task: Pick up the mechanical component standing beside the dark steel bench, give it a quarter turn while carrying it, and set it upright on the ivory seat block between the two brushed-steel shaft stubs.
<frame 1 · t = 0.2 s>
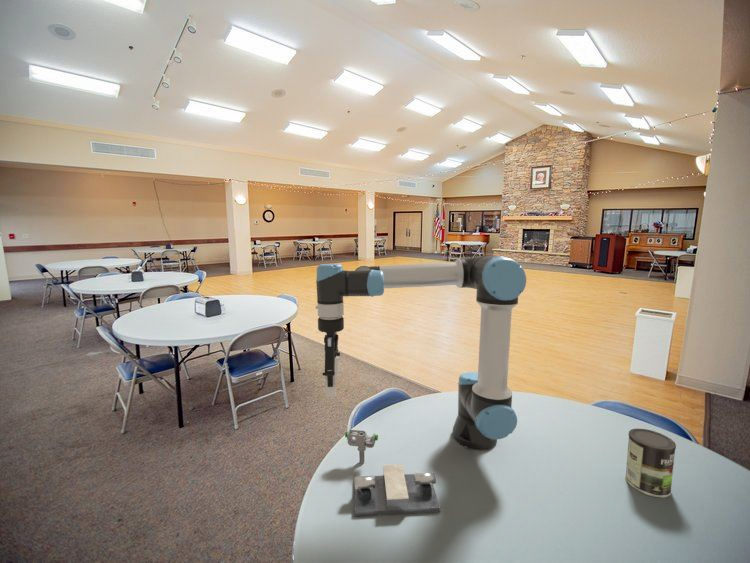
hand: (332, 386, 102), 27 cm above the table, fingers open, 13 cm apart
coffee can: (647, 485, 97), on the table
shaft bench: (395, 495, 94), on the table
mechanical component: (361, 463, 108), on the table
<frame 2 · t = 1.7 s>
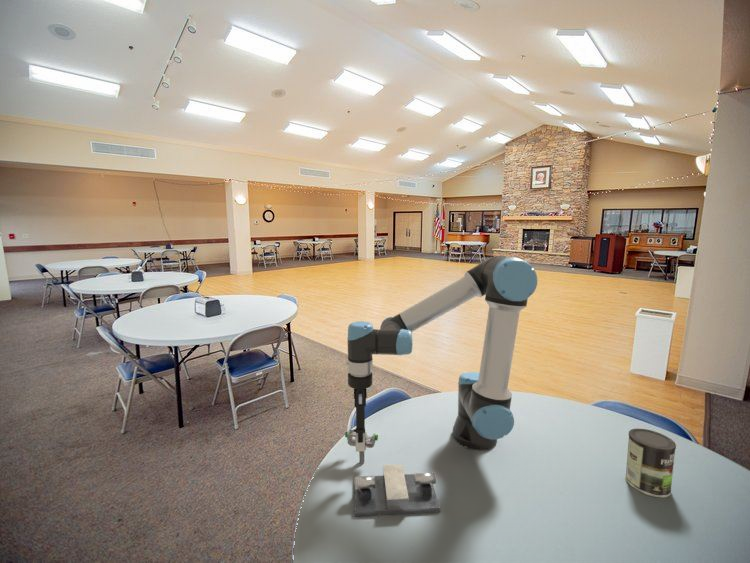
hand: (360, 437, 107), 9 cm above the table, fingers open, 13 cm apart
nothing on the table moved.
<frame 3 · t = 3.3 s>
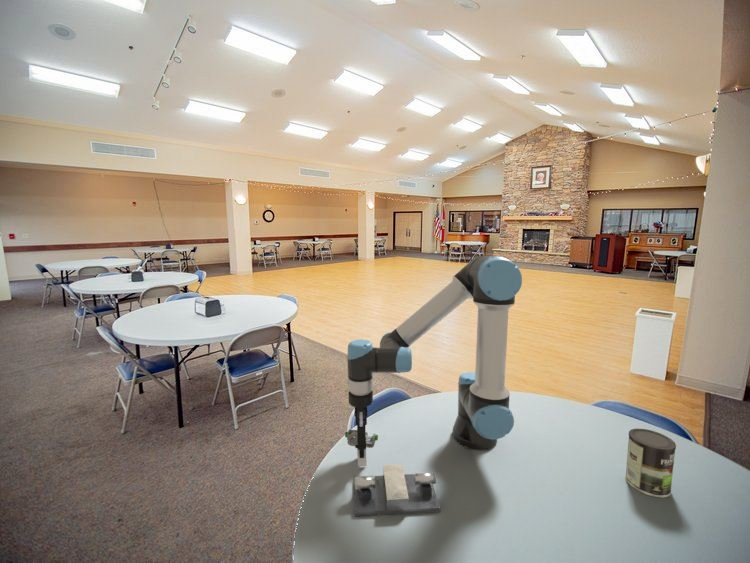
hand: (361, 460, 108), 1 cm above the table, fingers closed on mechanical component, 4 cm apart
mechanical component: (361, 463, 108), on the table, touching gripper
everything else where it was.
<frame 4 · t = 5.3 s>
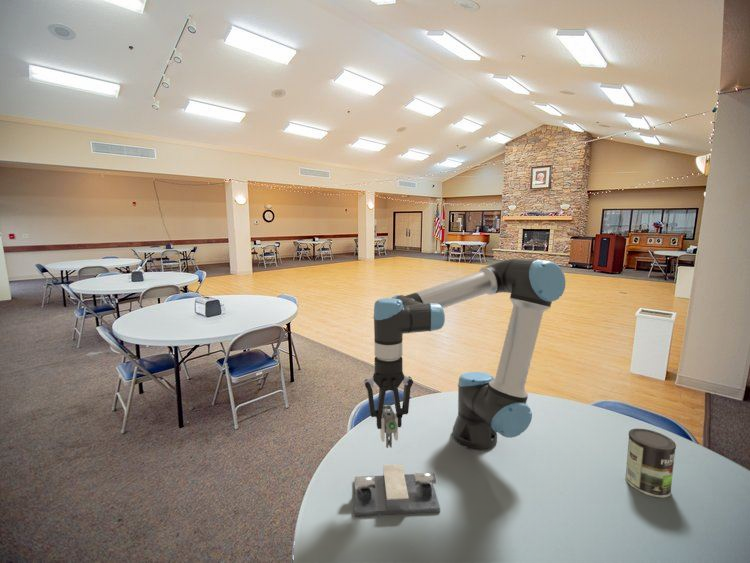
hand: (389, 438, 94), 16 cm above the table, fingers closed on mechanical component, 3 cm apart
mechanical component: (388, 447, 95), point 13 cm above the table, touching gripper
everything else where it was.
when the fingers open (6 cm above the table, at t = 7.4 s): mechanical component stays where it is, resting on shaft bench.
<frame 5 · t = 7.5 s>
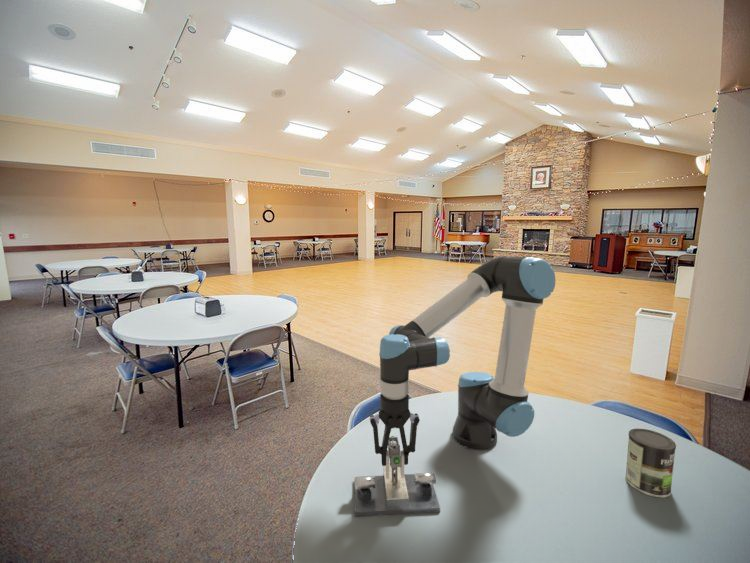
hand: (394, 474, 93), 6 cm above the table, fingers open, 3 cm apart
mechanical component: (394, 480, 94), point 4 cm above the table, touching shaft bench
everything else where it was.
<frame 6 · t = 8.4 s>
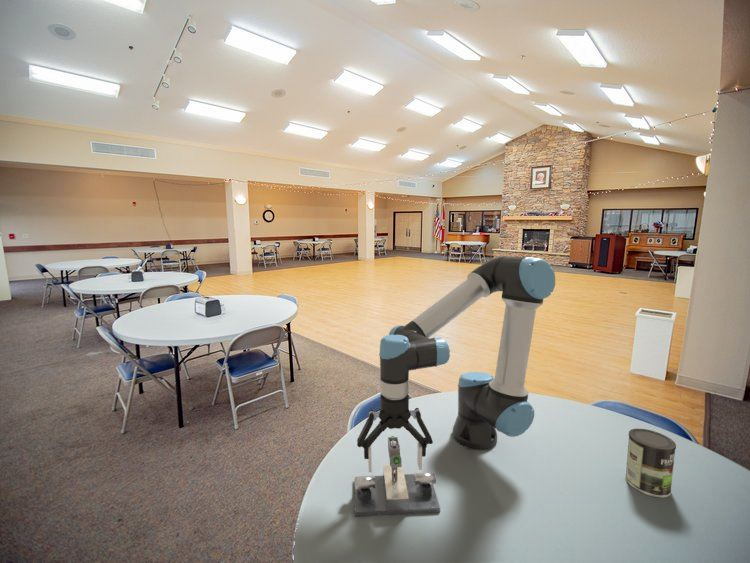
hand: (394, 467, 93), 8 cm above the table, fingers open, 13 cm apart
nothing on the table moved.
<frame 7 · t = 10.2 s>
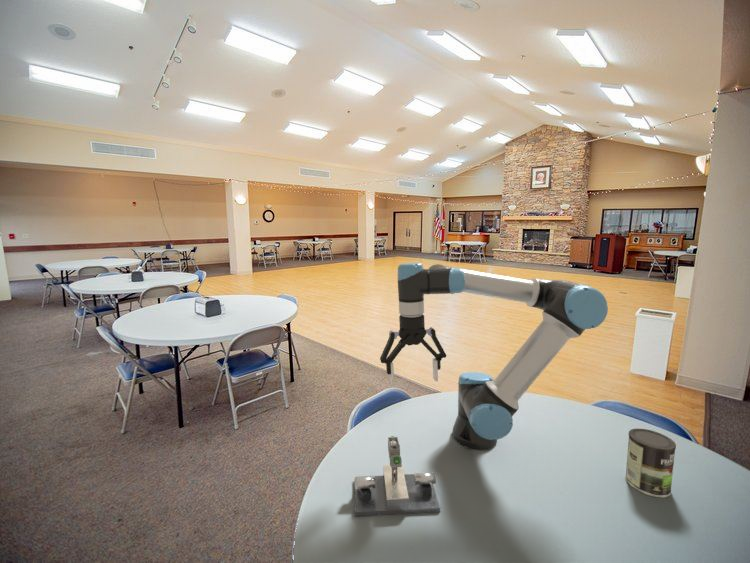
hand: (414, 381, 105), 26 cm above the table, fingers open, 13 cm apart
nothing on the table moved.
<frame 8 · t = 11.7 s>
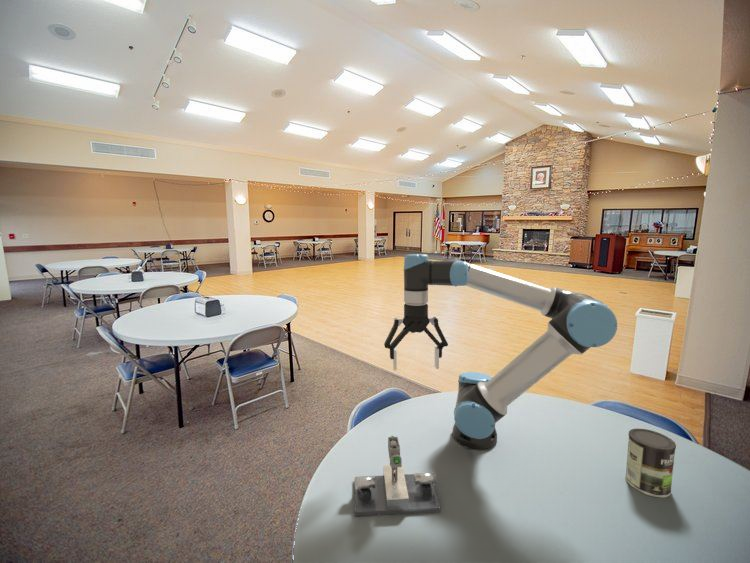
hand: (415, 367, 110), 29 cm above the table, fingers open, 13 cm apart
nothing on the table moved.
at the end: mechanical component 0.2 cm off-centre on the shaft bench, point 4.3 cm above the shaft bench's base; mechanical component tilted 0°; the gripper is holding nothing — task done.
